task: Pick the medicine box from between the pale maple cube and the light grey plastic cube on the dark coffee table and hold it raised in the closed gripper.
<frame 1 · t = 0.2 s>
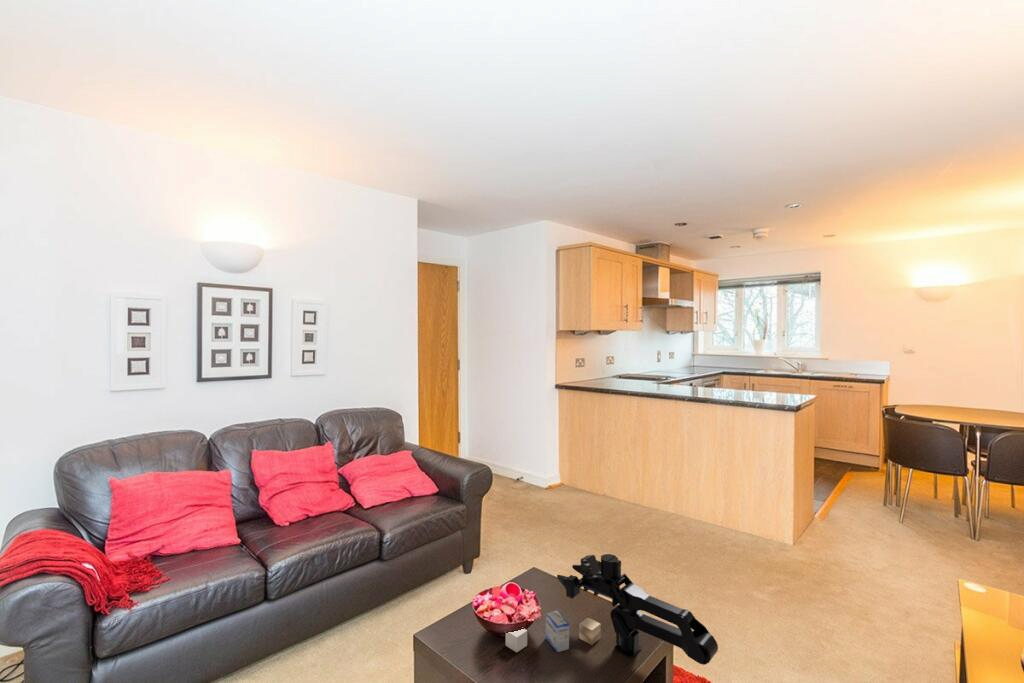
hand: (565, 571, 171), 17 cm above the table, tool horizontal, fingers open, 9 cm apart
grey plastic cube: (516, 645, 156), on the table
maple cube: (589, 638, 160), on the table
medicine box: (557, 644, 157), on the table
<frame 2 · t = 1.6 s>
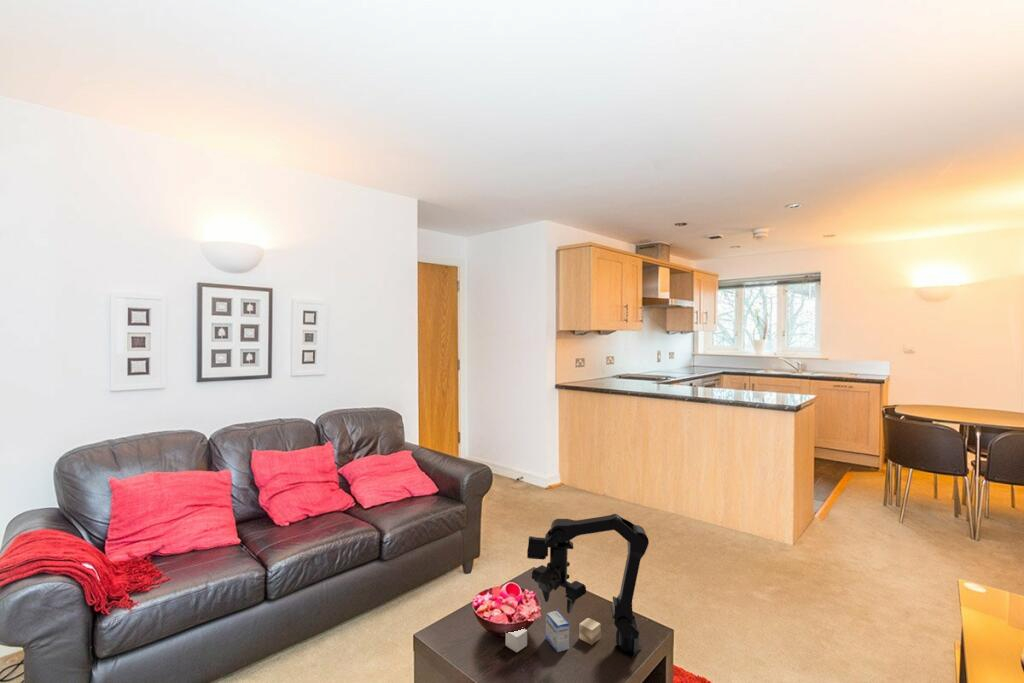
hand: (557, 607, 156), 12 cm above the table, tool pointing down, fingers open, 9 cm apart
nothing on the table moved.
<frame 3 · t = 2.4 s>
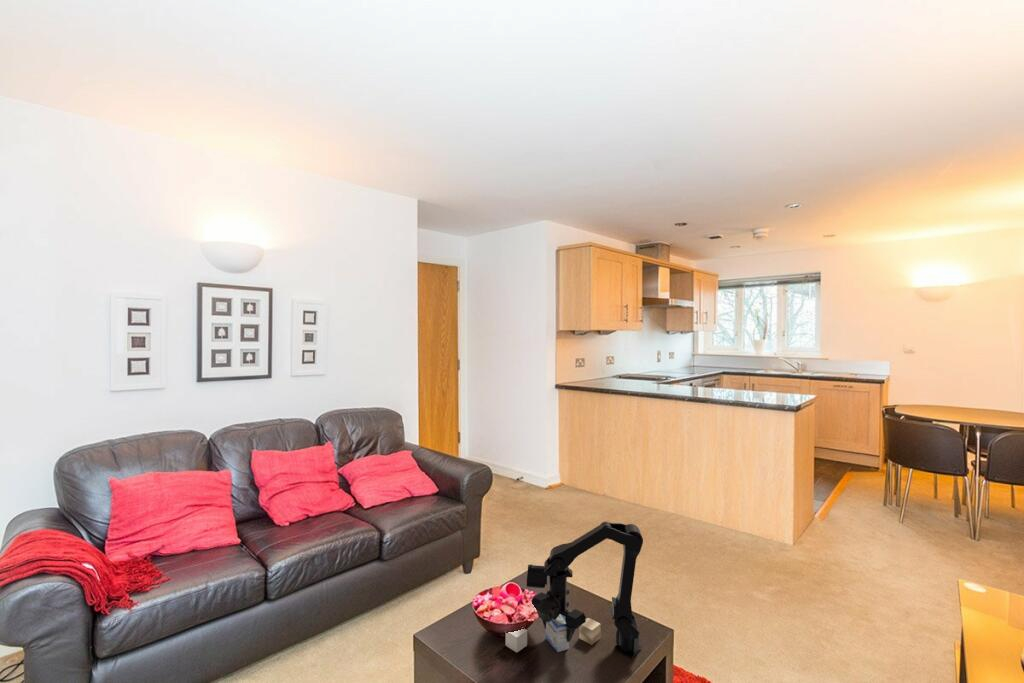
hand: (557, 635, 156), 3 cm above the table, tool pointing down, fingers open, 9 cm apart
nothing on the table moved.
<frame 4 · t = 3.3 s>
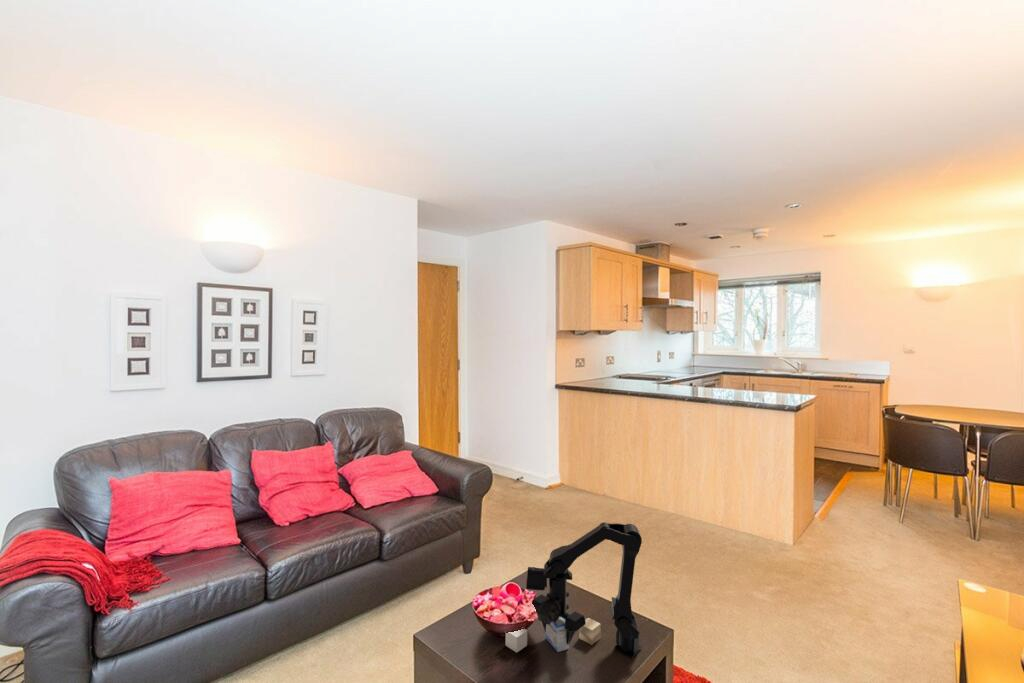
hand: (557, 637, 156), 2 cm above the table, tool pointing down, fingers closed on medicine box, 9 cm apart
medicine box: (557, 644, 157), on the table, touching gripper
everything else where it was.
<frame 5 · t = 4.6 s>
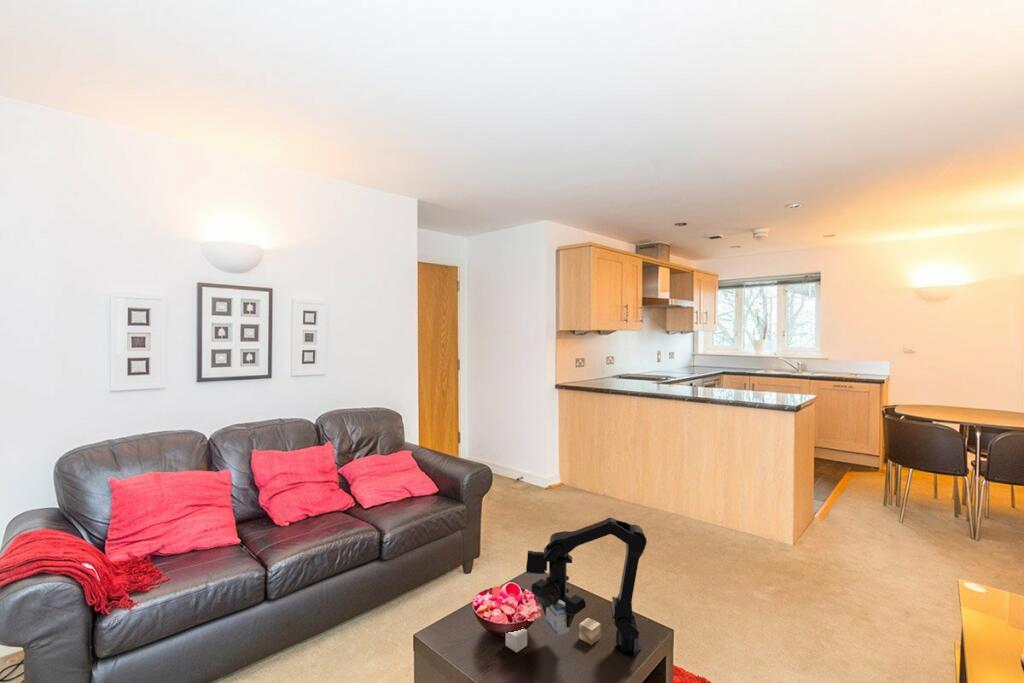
hand: (557, 621, 156), 7 cm above the table, tool pointing down, fingers closed on medicine box, 9 cm apart
medicine box: (557, 628, 156), point 5 cm above the table, touching gripper
everything else where it was.
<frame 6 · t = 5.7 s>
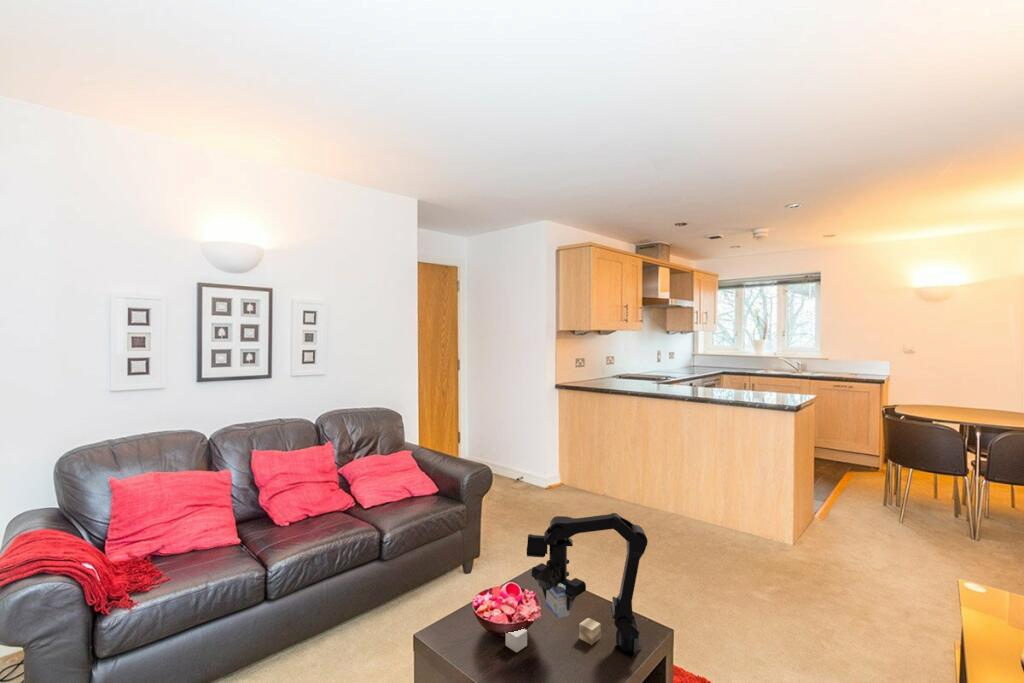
hand: (557, 604, 156), 13 cm above the table, tool pointing down, fingers closed on medicine box, 9 cm apart
medicine box: (557, 611, 156), point 11 cm above the table, touching gripper
everything else where it was.
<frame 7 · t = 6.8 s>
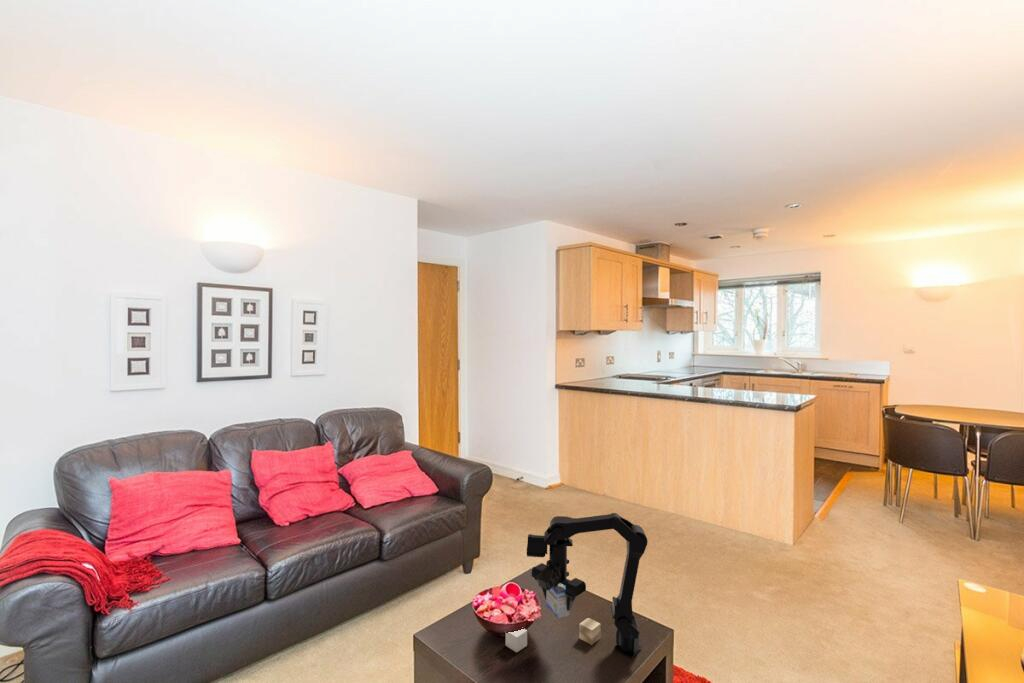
hand: (557, 604, 156), 13 cm above the table, tool pointing down, fingers closed on medicine box, 9 cm apart
medicine box: (557, 611, 156), point 11 cm above the table, touching gripper
everything else where it was.
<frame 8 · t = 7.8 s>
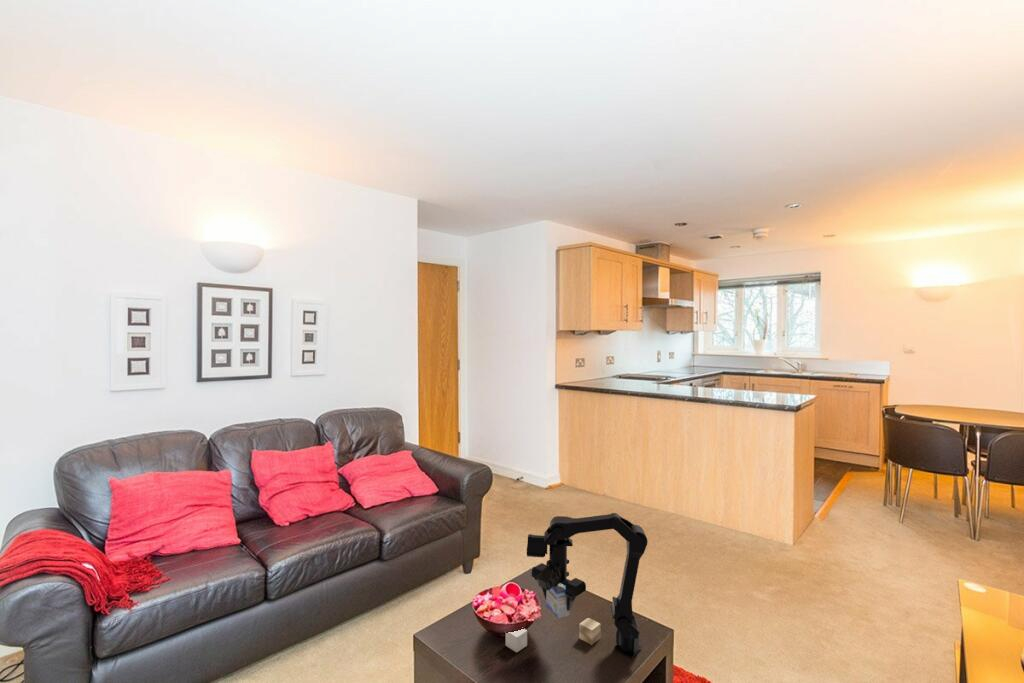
hand: (557, 604, 156), 13 cm above the table, tool pointing down, fingers closed on medicine box, 9 cm apart
medicine box: (557, 611, 156), point 11 cm above the table, touching gripper
everything else where it was.
at the end: the gripper is holding medicine box; medicine box point 10.7 cm above the table; maple cube moved 0.1 cm from its start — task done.
